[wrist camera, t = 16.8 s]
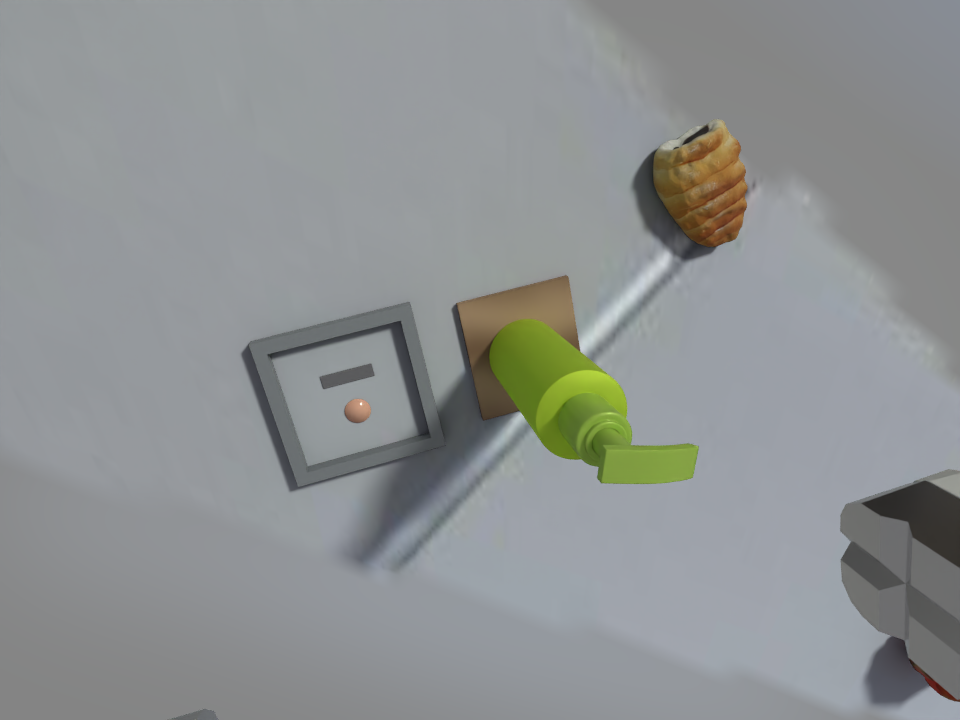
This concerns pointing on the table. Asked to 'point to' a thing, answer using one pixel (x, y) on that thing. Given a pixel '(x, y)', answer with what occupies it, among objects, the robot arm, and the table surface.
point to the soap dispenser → (579, 407)
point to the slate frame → (355, 408)
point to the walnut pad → (499, 310)
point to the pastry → (703, 183)
